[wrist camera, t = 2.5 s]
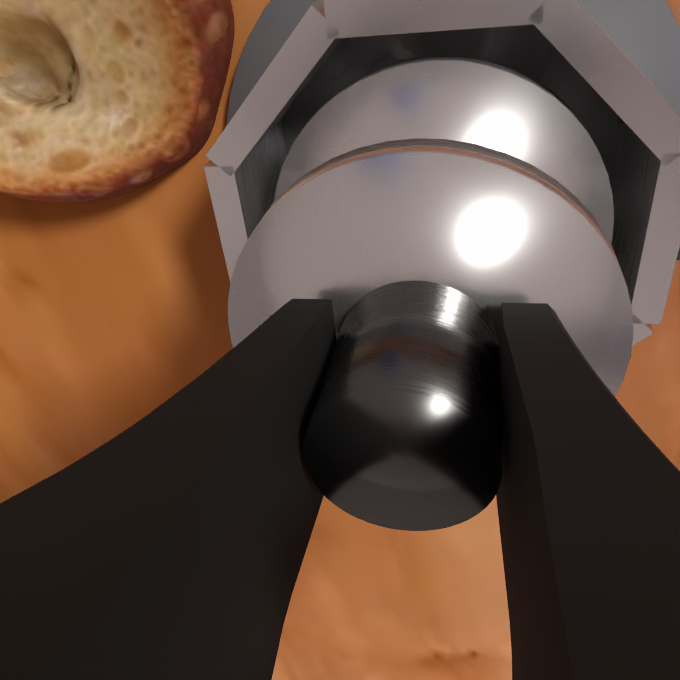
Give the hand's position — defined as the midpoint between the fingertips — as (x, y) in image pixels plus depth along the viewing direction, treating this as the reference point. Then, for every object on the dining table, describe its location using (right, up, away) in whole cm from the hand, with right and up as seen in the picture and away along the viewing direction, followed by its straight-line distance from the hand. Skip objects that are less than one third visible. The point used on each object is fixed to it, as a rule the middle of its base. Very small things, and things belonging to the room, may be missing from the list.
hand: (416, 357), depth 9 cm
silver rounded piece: (+1, +3, +3) cm, 4 cm away
